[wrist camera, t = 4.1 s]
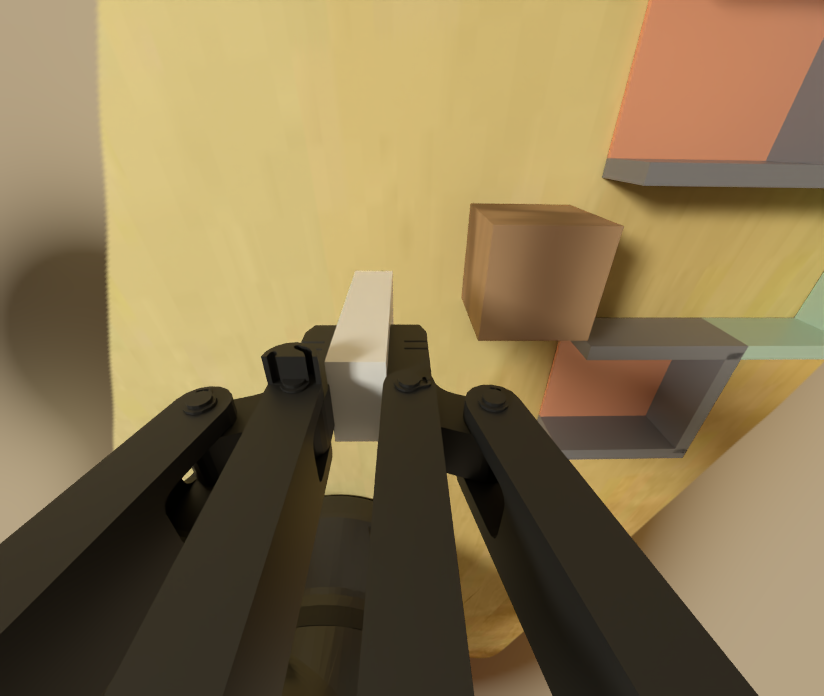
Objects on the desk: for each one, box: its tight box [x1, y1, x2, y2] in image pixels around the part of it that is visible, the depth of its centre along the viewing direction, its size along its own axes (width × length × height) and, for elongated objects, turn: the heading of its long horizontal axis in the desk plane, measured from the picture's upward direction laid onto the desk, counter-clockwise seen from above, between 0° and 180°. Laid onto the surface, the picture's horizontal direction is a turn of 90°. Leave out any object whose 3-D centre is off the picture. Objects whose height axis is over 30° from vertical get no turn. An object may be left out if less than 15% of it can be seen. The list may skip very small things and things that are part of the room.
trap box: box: [537, 0, 824, 460], centre depth 21 cm, size 18×29×4 cm, turn 179°
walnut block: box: [462, 203, 624, 341], centre depth 20 cm, size 6×6×6 cm
